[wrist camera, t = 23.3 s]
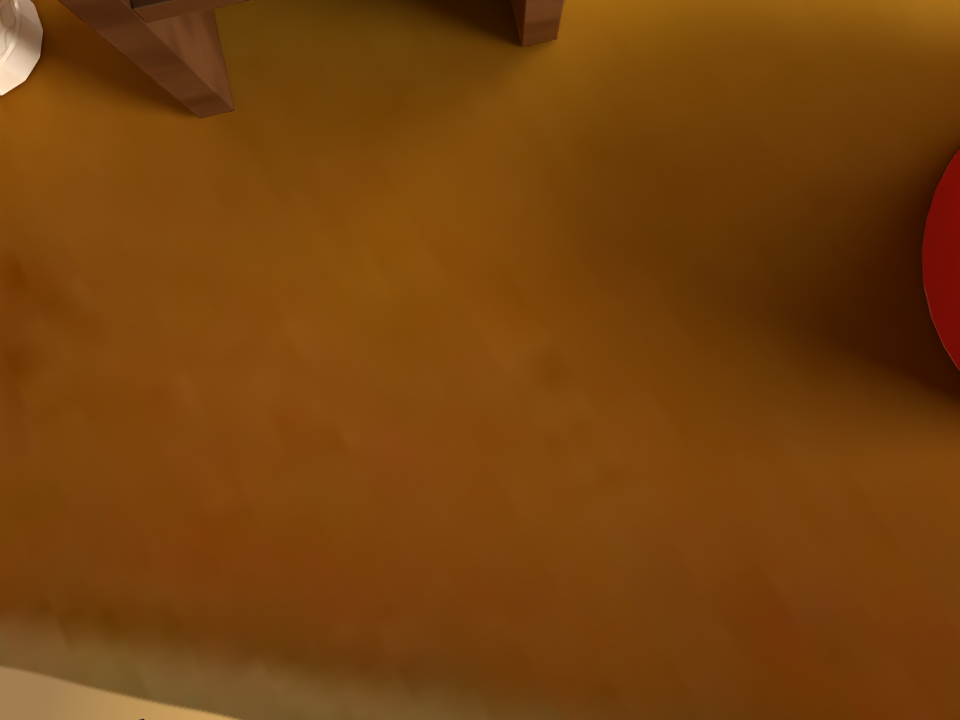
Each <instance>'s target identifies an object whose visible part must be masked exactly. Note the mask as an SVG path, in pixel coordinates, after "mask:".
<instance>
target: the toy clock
mask: <svg viewBox="0 0 960 720" xmlns="http://www.w3.org/2000/svg"><path fill="white" fill-rule="evenodd" d="M922 266H923V284H924V290H925V294H926V298H927V302H928V307H929V311H930V315H931V319H932V321H933V323H934V326H935V328H936V330H937V332H938V335H939V337H940V339H941V342H942V344H943V346H944V348H945V350H946V351H947V353H948V354H949V356H950V357H951V359H952V360H953V362H954V363H955V365H956V367H957V368H958V370H959V371H960V149H959V150H958V152H957V153H956V154H955V155H954V157H953V158H952V159H951V161H950V163H949V164H948V166H947V168H946V170H945V172H944V174H943V176H942V178H941V180H940V182H939V184H938V186H937V188H936V190H935V193H934V196H933V199H932V203H931V206H930V209H929V212H928V215H927V219H926V223H925V232H924V240H923V248H922Z"/></svg>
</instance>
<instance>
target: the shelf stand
mask: <svg viewBox="0 0 960 720" xmlns="http://www.w3.org/2000/svg"><path fill="white" fill-rule="evenodd" d="M58 1H60V2H61V3H62V4H63V5H64V6H66V7H67V8H68V9H69V10H70V11H72V12H73V13H74V14H75V15H76V16H78V17H79V18H80V19H81V20H82V21H84V22H85V23H86V24H87V25H88V26H90V27H91V28H92V29H93V30H94V31H96V32H97V33H98V34H99V35H100V36H102V37H103V38H104V39H105V40H106V41H108V42H109V43H110V44H111V45H112V46H114V47H115V48H116V49H117V50H118V51H120V52H121V53H122V54H123V55H124V56H126V57H127V58H128V59H129V60H130V61H132V62H133V63H134V64H135V65H136V66H137V67H139V68H140V69H141V70H142V71H143V72H145V73H146V74H147V75H148V76H149V77H151V78H152V79H153V80H154V81H155V82H157V83H158V84H159V85H160V86H161V87H163V88H164V89H165V90H166V91H167V92H169V93H170V94H171V95H172V96H173V97H175V98H176V99H177V100H178V101H179V102H181V103H182V104H183V105H184V106H185V107H187V108H188V109H189V110H190V111H191V112H193V113H194V114H195V115H196V116H197V117H199V118H203V117H208V116H212V115H217V114H222V113H226V112H231V111H234V106H233V101H232V96H231V92H230V87H229V82H228V77H227V73H226V68H225V63H224V58H223V54H222V49H221V44H220V39H219V35H218V30H217V25H216V20H215V16H214V11H213V8H217V7H222V6H226V5H231V4H235V3H240V2H244V1H248V0H58ZM511 1H512V6H513V10H514V15H515V20H516V24H517V29H518V34H519V38H520V43H521V46H522V47H524V46H528V45H533V44H537V43H542V42H546V41H551V40H555V39H557V36H558V31H559V25H560V20H561V15H562V9H563V4H564V0H511Z"/></svg>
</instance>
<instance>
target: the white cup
mask: <svg viewBox="0 0 960 720" xmlns="http://www.w3.org/2000/svg"><path fill="white" fill-rule="evenodd" d="M42 37H43V28H42V25H41V22H40V19H39V16H38V13H37V10H36V8H35V5H34V3H33V2H32V1H31V0H0V96H1V95H4V94H5V93H7V92H8V91H10V90H12V89H13V88H15V87H16V86H18V85H20V84H21V83H23V82H24V81H25V80H26V79H27V77H28V76H29V74H30V73H31V71H32V70H33V68H34V66H35V65H36V63H37V62H38V60H39V58H40V53H41V45H42Z"/></svg>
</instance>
